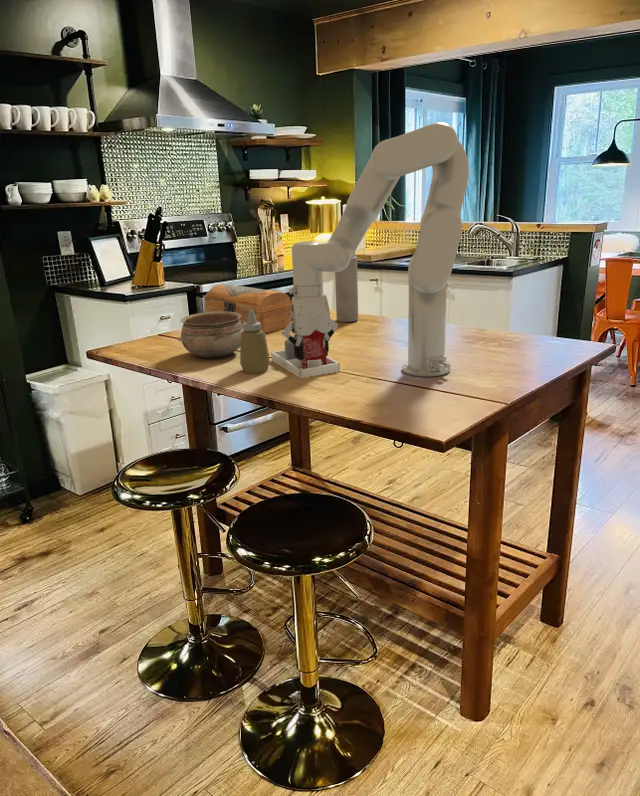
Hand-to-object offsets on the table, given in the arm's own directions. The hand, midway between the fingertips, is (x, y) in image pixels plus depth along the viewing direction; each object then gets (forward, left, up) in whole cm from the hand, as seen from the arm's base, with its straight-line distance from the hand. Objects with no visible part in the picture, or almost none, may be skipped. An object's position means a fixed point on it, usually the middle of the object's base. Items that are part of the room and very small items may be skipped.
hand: (311, 356), depth 170 cm
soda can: (0, -1, -4) cm, 4 cm away
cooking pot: (+31, +18, -5) cm, 36 cm away
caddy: (+5, 0, -5) cm, 7 cm away
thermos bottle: (+52, -38, -5) cm, 65 cm away
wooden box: (+64, -4, -6) cm, 64 cm away
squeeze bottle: (+8, +13, -5) cm, 17 cm away
